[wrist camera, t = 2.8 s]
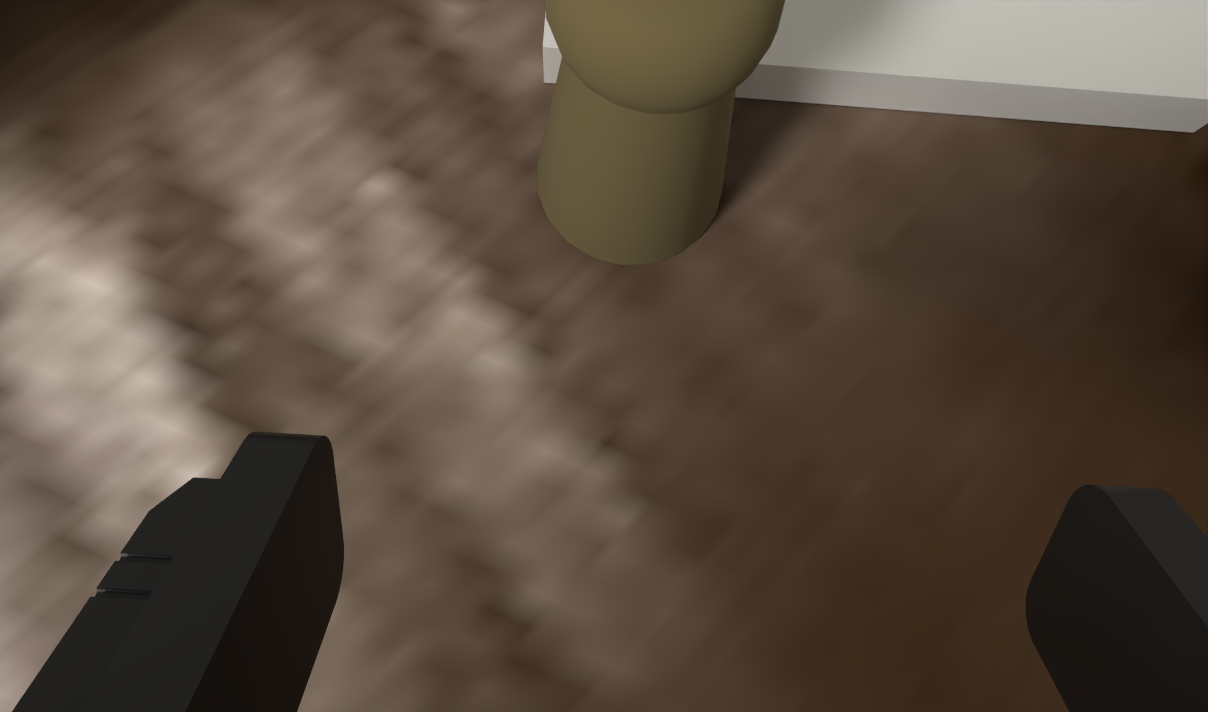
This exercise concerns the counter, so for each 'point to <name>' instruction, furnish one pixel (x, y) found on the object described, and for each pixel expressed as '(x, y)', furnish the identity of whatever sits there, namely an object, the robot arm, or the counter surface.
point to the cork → (644, 119)
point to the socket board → (989, 59)
